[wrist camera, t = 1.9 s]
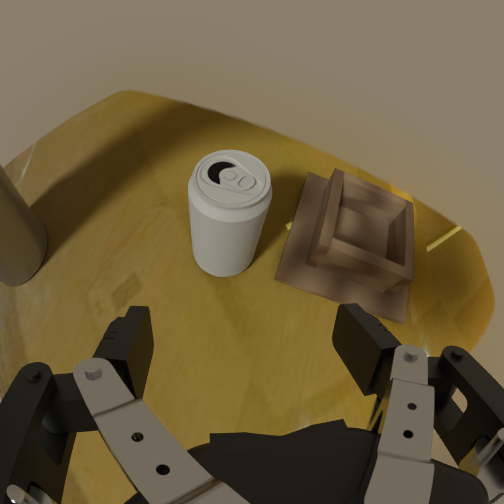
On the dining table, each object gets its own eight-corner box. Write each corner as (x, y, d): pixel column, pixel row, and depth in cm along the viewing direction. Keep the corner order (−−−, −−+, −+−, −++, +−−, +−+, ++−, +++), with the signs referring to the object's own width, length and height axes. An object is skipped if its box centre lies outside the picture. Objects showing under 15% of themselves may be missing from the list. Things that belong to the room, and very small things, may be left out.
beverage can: (215, 217, 32) (219, 135, 22) (264, 245, 32) (290, 169, 21) (181, 259, 29) (168, 183, 19) (233, 291, 29) (247, 227, 18)
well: (274, 279, 30) (286, 257, 25) (306, 175, 37) (318, 147, 33) (401, 324, 29) (429, 310, 24) (407, 218, 37) (427, 197, 32)
